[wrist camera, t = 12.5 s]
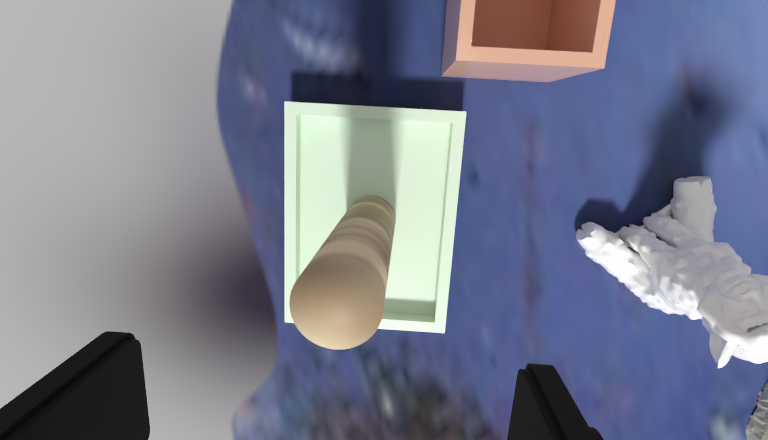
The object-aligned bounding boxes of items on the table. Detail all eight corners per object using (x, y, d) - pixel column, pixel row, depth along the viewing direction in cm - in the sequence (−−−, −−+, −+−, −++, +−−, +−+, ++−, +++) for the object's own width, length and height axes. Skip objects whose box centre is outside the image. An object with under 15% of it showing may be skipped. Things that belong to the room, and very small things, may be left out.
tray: (291, 102, 30) (284, 101, 28) (461, 112, 29) (466, 111, 27) (291, 310, 33) (284, 322, 31) (441, 320, 33) (444, 333, 31)
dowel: (347, 193, 30) (289, 258, 16) (397, 197, 30) (385, 265, 15) (345, 241, 31) (289, 345, 16) (394, 245, 31) (380, 353, 16)
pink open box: (450, -44, 27) (471, -110, 19) (565, -39, 27) (632, -103, 19) (440, 76, 29) (455, 60, 21) (548, 82, 29) (603, 68, 21)
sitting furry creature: (693, 166, 30) (883, 196, 18) (733, 267, 31) (932, 354, 20) (568, 228, 31) (670, 293, 19) (613, 321, 33) (732, 434, 21)
